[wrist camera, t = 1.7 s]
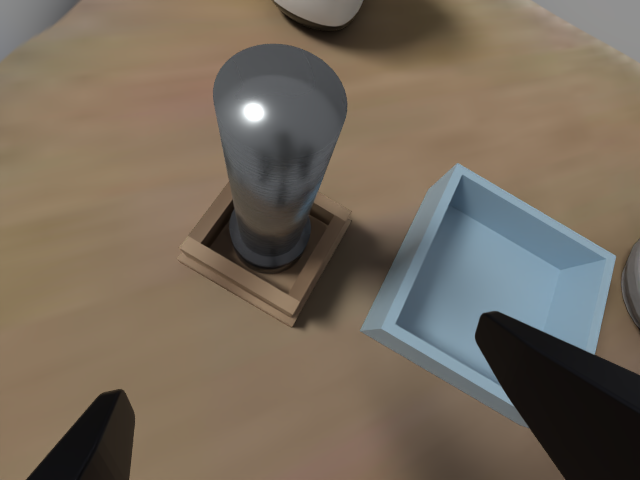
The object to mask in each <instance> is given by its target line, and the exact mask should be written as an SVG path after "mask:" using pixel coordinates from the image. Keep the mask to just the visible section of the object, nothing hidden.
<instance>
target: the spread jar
mask: <svg viewBox="0 0 640 480" xmlns="http://www.w3.org/2000/svg"><path fill="white" fill-rule="evenodd" d="M272 2H273V3H274V4H275V5H276V6H277V7H278V8H279V9H280V10H281V11H282V12H283V13H284V14H286V15H287V16H288V17H290V18H291V19H293V20H294V21H296V22H298V23H299V24H301V25H303V26H306V27H308V28H312V29H316V30H323V31H335V30H340V29H342V28H344V27H346V26H347V25H349V24H350V23H351V22H352V20H353V19H354V18H355V16H356V15H357V13H358V11H359V9H360V7H361V5H362V2H363V0H272Z"/></svg>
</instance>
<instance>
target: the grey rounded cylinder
mask: <svg viewBox="0 0 640 480" xmlns="http://www.w3.org/2000/svg"><path fill="white" fill-rule="evenodd" d="M213 100H214V106H215V111H216V116H217V121H218V126H219V132H220V137H221V142H222V147H223V152H224V157H225V162H226V168H227V173H228V178H229V183H230V188H231V193H232V198H233V204H234V210H233V212H232V214H231V218H230V223H229V231H230V236H231V240H232V243H233V247H234V250H235V253H236V255H237V256H238V258H239V259H240V261H241V262H242V263H243V264H244V265H245V266H247V267H248V268H250V269H251V270H253V271H256V272H259V273H263V274H276V273H280V272H283V271H285V270H288V269H289V268H291V267H292V266H293V265H294V264H296V262H297V261H298V260H299V259H300V257H301V256H302V254H303V252H304V249H305V247H306V245H307V243H308V241H309V238H310V233H311V223H310V218H309V214H310V211H311V208H312V206H313V203H314V200H315V198H316V195H317V192H318V190H319V187H320V185H321V182H322V179H323V177H324V174H325V171H326V169H327V166H328V164H329V161H330V158H331V156H332V153H333V150H334V148H335V145H336V142H337V140H338V137H339V135H340V132H341V129H342V127H343V124H344V121H345V118H346V114H347V97H346V93H345V90H344V87H343V85H342V83H341V81H340V79H339V78H338V76H337V75H336V73H335V72H334V71H333V70H332V69H331V68H330V67H329V66H328V65H327V64H326V63H325V62H324V61H323V60H321V59H320V58H318V57H317V56H315V55H313V54H312V53H310V52H308V51H305V50H303V49H300V48H297V47H293V46H289V45H283V44H263V45H257V46H253V47H250V48H247V49H245V50H242V51H240V52H239V53H237V54H235V55H234V56H232V57H231V58H230V59H229V60H228V61H227V62H226V63H225V64H224V65H223V66H222V68H221V69H220V71H219V73H218V74H217V77H216V80H215V82H214V88H213Z"/></svg>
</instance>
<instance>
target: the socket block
mask: <svg viewBox="0 0 640 480" xmlns="http://www.w3.org/2000/svg"><path fill="white" fill-rule="evenodd" d="M233 210H234V204H233V198H232V193H231V188H230V183H229V182H228V184H227V185H226V186H225V188H224V189H223V190H222V192H221V193H220V194H219V195H218V197H217V198H216V199H215V201H214V202H213V203H212V205H211V206H210V207H209V209H208V210H207V211H206V213H205V214H204V215H203V217H202V218H201V219H200V221H199V222H198V223H197V225H196V226H195V227H194V229H193V230H192V231H191V233H190V234H189V235H188V236H187V238H186V239H185V240H184V242H183V243H182V244H181V246H180V247H179V248H180V250H181V251H182V253H181V254H180V255H179V257H178V258H177V260H178V261H179V262H180V263H182V264H184V265H185V266H187V267H189V268H191V269H192V270H194V271H196V272H197V273H199V274H201V275H202V276H204V277H206V278H208V279H209V280H211V281H213V282H214V283H216V284H218V285H219V286H221V287H223V288H225V289H226V290H228V291H230V292H231V293H233V294H235V295H236V296H238V297H240V298H242V299H243V300H245V301H247V302H248V303H250V304H252V305H253V306H255V307H257V308H259V309H260V310H262V311H264V312H265V313H267V314H269V315H270V316H272V317H274V318H276V319H277V320H279V321H281V322H282V323H284V324H286V325H287V326H289V327H292V326H293V324H294V323H295V321H296V319H297V317H298V315H299V314H300V312H301V310H302V308H303V307H304V305H305V303H306V301H307V299H308V298H309V296H310V294H311V292H312V291H313V289H314V287H315V285H316V283H317V282H318V280H319V278H320V276H321V275H322V273H323V271H324V269H325V267H326V266H327V264H328V262H329V260H330V259H331V257H332V255H333V253H334V251H335V250H336V248H337V246H338V244H339V243H340V241H341V239H342V237H343V235H344V234H345V232H346V230H347V228H348V227H349V225H350V223H351V221H352V220H350V219H348V217H349V215H350V213H351V212H352V211H350V210H349V209H347V208H345V207H344V206H342V205H340V204H339V203H337V202H335V201H333V200H332V199H330V198H328V197H327V196H325V195H323V194H322V193H320V192H317V195H316V198H315V200H314V203H313V206H312V208H311V211H310V214H309V218H310V223H311V233H310V238H309V241H308V243H307V245H306V247H305V249H304V252H303V254H302V256H301V257H300V259H299V260H298V261H297V262H296V264H294V265H293V266H292V267H291V268H289V269H288V270H285V271H283V272H280V273H276V274H263V273H259V272H256V271H253V270H251V269H250V268H248V267H247V266H245V265H244V264H243V263H242V262H241V261H240V259H239V258H238V256H237V255H236V253H235V250H234V247H233V243H232V240H231V236H230V231H229V223H230V218H231V214H232V212H233Z"/></svg>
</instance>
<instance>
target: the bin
mask: <svg viewBox="0 0 640 480" xmlns="http://www.w3.org/2000/svg"><path fill="white" fill-rule="evenodd" d="M615 259H616V256H615V255H613V254H612V253H610V252H608V251H607V250H605V249H603V248H602V247H600V246H598V245H596V244H595V243H593V242H591V241H590V240H588V239H586V238H584V237H583V236H581V235H579V234H578V233H576V232H574V231H573V230H571V229H569V228H567V227H566V226H564V225H562V224H561V223H559V222H557V221H555V220H554V219H552V218H550V217H549V216H547V215H545V214H544V213H542V212H540V211H538V210H537V209H535V208H533V207H532V206H530V205H528V204H527V203H525V202H523V201H521V200H520V199H518V198H516V197H515V196H513V195H511V194H509V193H508V192H506V191H504V190H503V189H501V188H499V187H498V186H496V185H494V184H492V183H491V182H489V181H487V180H486V179H484V178H482V177H480V176H479V175H477V174H475V173H474V172H472V171H470V170H469V169H467V168H465V167H463V166H462V165H460V164H458V163H457V164H456V165H455V166H454V167H452V168H451V169H450V170H449V171H448V172H447V173H446V174H445V175H444V176H443V177H442V178H440V179H439V180H438V181H437V182H436V183H435V184H434V185H433V186H432V187H431V188H429V189H428V191H427V193H426V195H425V197H424V199H423V202H422V204H421V206H420V208H419V210H418V212H417V214H416V216H415V218H414V220H413V222H412V224H411V226H410V228H409V230H408V233H407V235H406V237H405V239H404V241H403V243H402V245H401V247H400V249H399V251H398V253H397V255H396V257H395V259H394V261H393V264H392V266H391V268H390V270H389V272H388V274H387V276H386V278H385V280H384V282H383V284H382V286H381V288H380V290H379V292H378V294H377V297H376V299H375V301H374V303H373V305H372V307H371V309H370V311H369V313H368V315H367V317H366V319H365V321H364V323H363V325H362V328H361V330H360V331H361V332H362V333H364V334H366V335H368V336H369V337H371V338H373V339H374V340H376V341H378V342H379V343H381V344H383V345H385V346H386V347H388V348H390V349H391V350H393V351H395V352H396V353H398V354H400V355H402V356H403V357H405V358H407V359H408V360H410V361H412V362H413V363H415V364H417V365H419V366H420V367H422V368H424V369H425V370H427V371H429V372H431V373H432V374H434V375H436V376H437V377H439V378H441V379H442V380H444V381H446V382H448V383H449V384H451V385H453V386H454V387H456V388H458V389H459V390H461V391H463V392H465V393H466V394H468V395H470V396H471V397H473V398H475V399H476V400H478V401H480V402H482V403H483V404H485V405H487V406H488V407H490V408H492V409H493V410H495V411H497V412H499V413H500V414H502V415H504V416H505V417H507V418H509V419H510V420H512V421H514V422H516V423H517V424H519V425H521V426H524V427H527V428H529V427H528V425H527V424H526V423H525V421H524V420H523V418H522V417H521V415H520V414H519V413H518V411H517V410H516V408H515V407H514V405H513V404H512V403H511V401H510V400H509V398H508V397H507V395H506V393H505V392H504V390H503V389H502V387H501V385H500V384H499V382H498V380H497V378H496V377H495V375H494V373H493V371H492V370H491V368H490V366H489V364H488V363H487V361H486V359H485V357H484V356H483V354H482V352H481V351H480V349H479V347H478V345H477V343H476V341H475V332H476V328H477V325H478V321H479V318H480V316H481V314H482V313H485V312H490V311H499V312H501V313H503V314H505V315H508V316H510V317H512V318H514V319H516V320H519V321H521V322H523V323H525V324H528V325H530V326H532V327H534V328H536V329H539V330H541V331H543V332H545V333H547V334H550V335H552V336H554V337H556V338H559V339H561V340H563V341H565V342H567V343H570V344H572V345H574V346H576V347H578V348H581V349H583V350H585V351H587V352H590V353H592V354H594V355H595V351H596V346H597V342H598V337H599V333H600V328H601V323H602V319H603V314H604V310H605V305H606V300H607V296H608V291H609V286H610V282H611V277H612V273H613V268H614V263H615Z"/></svg>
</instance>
